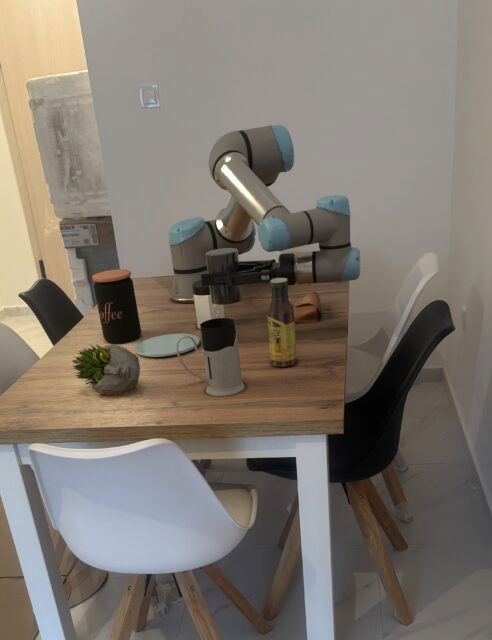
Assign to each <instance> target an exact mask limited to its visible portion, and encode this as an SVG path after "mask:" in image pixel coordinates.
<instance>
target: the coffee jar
mask: <svg viewBox="0 0 492 640" xmlns="http://www.w3.org/2000/svg"><path fill="white" fill-rule="evenodd" d="M131 276H132V270H130V269H127V268H126V269H125V268H116V269H109V270H104V271H101V272H97V273H95V274H93V275H92V276H91V279H92V281H93V282H94V285H93V291H94V296H95V301H96V306H97V311H98V315H99V316H98V317H99V320H100V321H99V322H100V326H101V332H102V336H103V339H104V341H106V342H107V344H110V345H121V344H127V343H131V342H134V341H136V340H138V339H139V338H140V336H141V335H142V327H141V322H140V317H139V310H138V304H137V299H136V293H135V286H134V282H133V279H132V278H131Z"/></svg>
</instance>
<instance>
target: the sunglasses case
mask: <svg viewBox="0 0 492 640" xmlns="http://www.w3.org/2000/svg"><path fill="white" fill-rule="evenodd" d="M291 305H292V306H293V309H294V320H295V323H300V324H302V323H303V324H306V323H318V322H319V321H320V320H321V319H322V317H323V316H322V315H323V313H322V304H321V299H320V295H319V294H318V292H317V291H314V290H313V291H311V292H309V293H308V294H306V295H304V296H303V297H302V298H301V299H300V300H298V301H296V302H294V303H293V304H291Z"/></svg>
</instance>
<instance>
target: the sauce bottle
mask: <svg viewBox="0 0 492 640" xmlns="http://www.w3.org/2000/svg"><path fill="white" fill-rule="evenodd" d="M269 287H270V289H271V290H270V291H271V301H270V305H269V309H268V313H267V329H268V330H267V331H268V345H269V347H268V348H269V359H270V362H271V365H272V366H274V367H278V368H286V367H287V368H288V367H290V366H293V365H295V364H296V362H297V341H296V337H297V336H296V322H295V320H294V309H293V306H292V305H293V304H292V303H291V301H290V300H289V290H288V289H289V288H288V287H289V285H288V279H286V278H273V279H272V280H271V281H270V282H269Z"/></svg>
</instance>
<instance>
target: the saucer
mask: <svg viewBox="0 0 492 640" xmlns="http://www.w3.org/2000/svg"><path fill="white" fill-rule="evenodd" d="M183 336H190V337H192V338H193V339H194V340H195V342H196V345H197V347H198V346H199V345H200V341H201V339H200V338H199V337H198V336H197V335H194V334H190V333H168V334H163V335H157V336H153V337H150V338H147V339H145V340H142V341H141V342H139V343H138V344H137V345H136V346H135V352H136V353H137V354H138V355H140V356H143V357H150V358H160V357H170V356H176V355H177V350H176V344H177V341H178V340H179V339H180V338H181V337H183ZM178 350H179V354H183V353H187V352H189V351H192V350H195V346H194V342H193V341H192V339H190V338H183V339H182V340H181V341H180V342H179V345H178Z"/></svg>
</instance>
